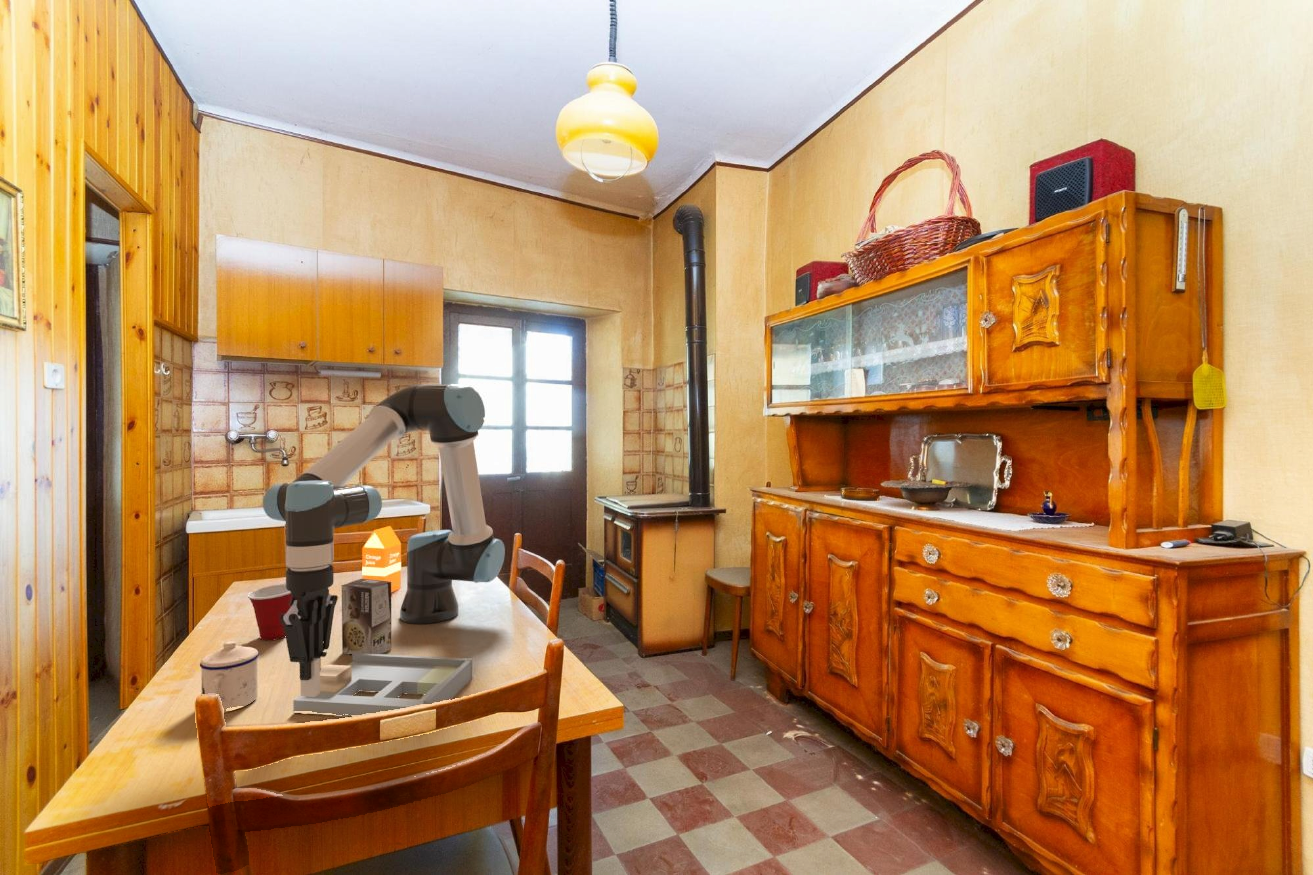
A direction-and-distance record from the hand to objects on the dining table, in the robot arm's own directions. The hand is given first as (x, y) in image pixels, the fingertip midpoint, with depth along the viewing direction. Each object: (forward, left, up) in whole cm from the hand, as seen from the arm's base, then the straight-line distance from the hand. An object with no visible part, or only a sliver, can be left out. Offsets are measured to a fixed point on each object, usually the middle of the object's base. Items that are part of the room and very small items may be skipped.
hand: (310, 694), depth 110 cm
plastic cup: (-36, -35, -4) cm, 50 cm away
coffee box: (-30, -7, -4) cm, 31 cm away
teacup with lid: (-1, -17, -4) cm, 17 cm away
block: (-6, 0, -1) cm, 6 cm away
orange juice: (-78, -31, -4) cm, 84 cm away
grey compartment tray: (-9, +9, -4) cm, 13 cm away
